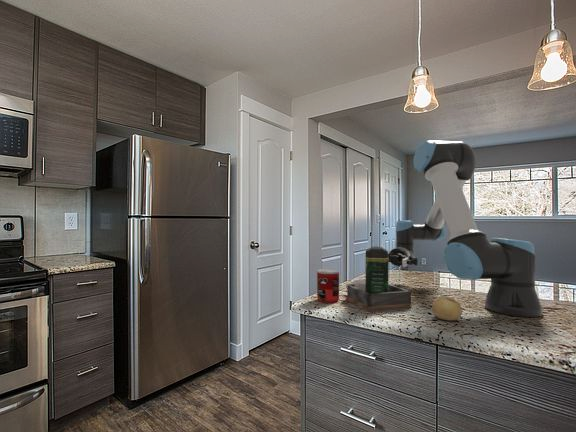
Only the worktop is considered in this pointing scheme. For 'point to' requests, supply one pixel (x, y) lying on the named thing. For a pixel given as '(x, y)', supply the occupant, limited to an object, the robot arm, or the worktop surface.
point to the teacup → (358, 284)
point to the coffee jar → (376, 270)
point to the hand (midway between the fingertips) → (384, 262)
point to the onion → (447, 308)
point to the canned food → (328, 285)
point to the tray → (379, 298)
